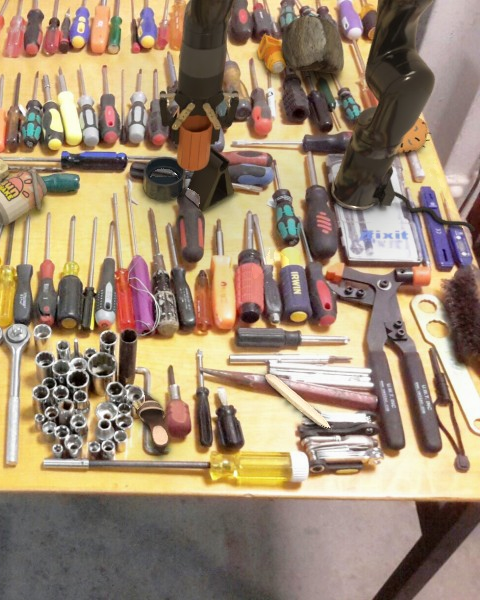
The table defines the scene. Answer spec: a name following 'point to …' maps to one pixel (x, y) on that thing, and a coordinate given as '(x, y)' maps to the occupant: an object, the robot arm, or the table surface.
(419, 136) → the toy
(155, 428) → the heeled mule
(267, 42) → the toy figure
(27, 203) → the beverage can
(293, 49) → the stone
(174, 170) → the big pot
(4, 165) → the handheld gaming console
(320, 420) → the light wooden rod
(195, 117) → the small pot
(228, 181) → the phone stand
